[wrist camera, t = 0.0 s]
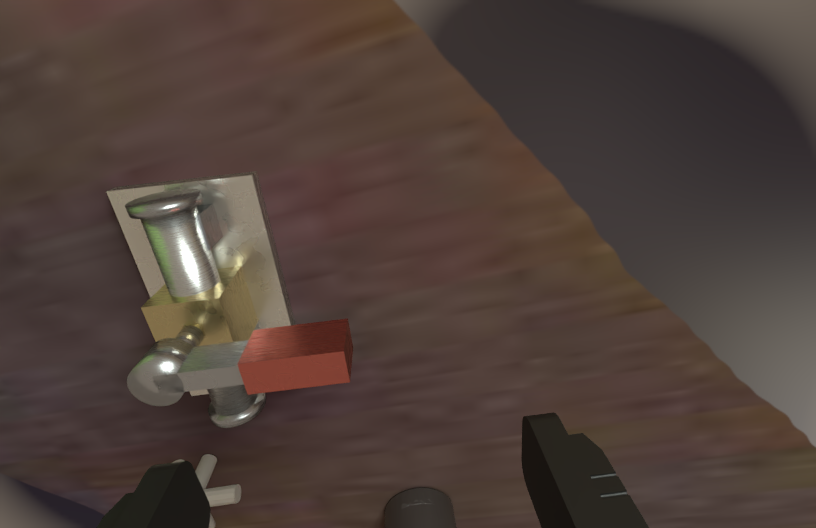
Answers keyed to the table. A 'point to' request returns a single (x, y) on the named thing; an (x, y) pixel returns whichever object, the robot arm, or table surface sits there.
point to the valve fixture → (207, 269)
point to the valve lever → (246, 362)
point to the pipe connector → (216, 494)
